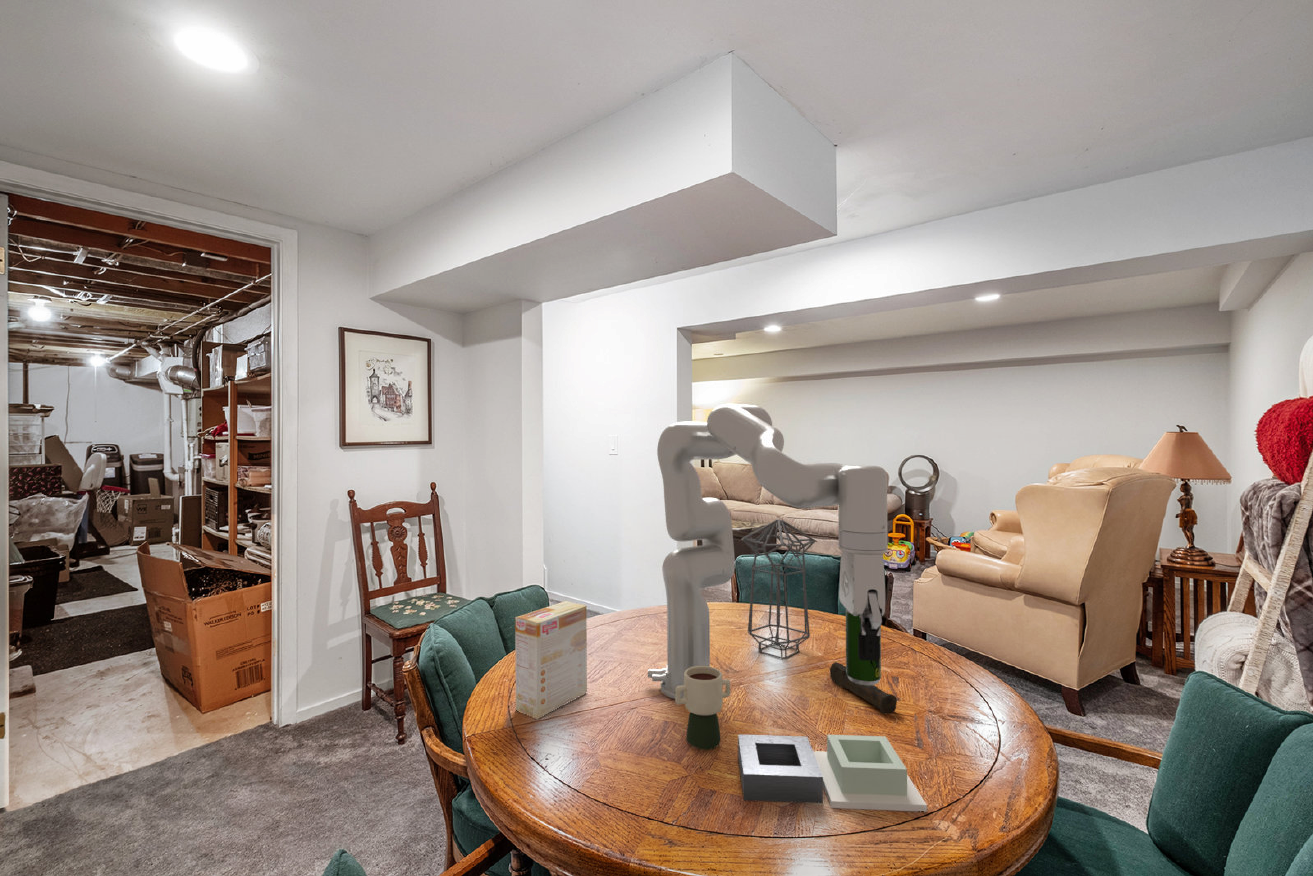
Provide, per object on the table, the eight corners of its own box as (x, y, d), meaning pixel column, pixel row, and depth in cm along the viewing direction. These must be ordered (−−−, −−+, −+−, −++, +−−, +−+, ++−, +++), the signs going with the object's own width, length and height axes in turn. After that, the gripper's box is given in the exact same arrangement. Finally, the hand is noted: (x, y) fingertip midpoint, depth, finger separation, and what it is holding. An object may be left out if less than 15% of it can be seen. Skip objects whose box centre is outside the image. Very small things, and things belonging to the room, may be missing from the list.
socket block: (743, 800, 87) (743, 774, 87) (738, 757, 99) (737, 734, 99) (823, 803, 86) (822, 777, 86) (807, 759, 98) (807, 736, 98)
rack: (831, 808, 85) (831, 774, 85) (812, 756, 99) (812, 728, 99) (927, 812, 84) (926, 778, 84) (894, 759, 98) (893, 730, 98)
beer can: (846, 683, 90) (845, 608, 90) (845, 670, 95) (845, 599, 95) (882, 688, 88) (882, 611, 88) (879, 674, 93) (879, 602, 94)
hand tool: (898, 714, 115) (898, 691, 115) (882, 716, 114) (882, 693, 114) (840, 678, 133) (840, 658, 133) (826, 680, 132) (826, 660, 132)
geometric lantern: (737, 650, 150) (737, 519, 152) (772, 638, 161) (772, 515, 162) (787, 667, 139) (786, 524, 140) (821, 652, 149) (820, 520, 151)
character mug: (722, 730, 108) (722, 662, 108) (739, 749, 101) (738, 676, 102) (668, 739, 105) (668, 669, 105) (682, 759, 98) (682, 684, 98)
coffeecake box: (565, 686, 129) (565, 600, 129) (588, 693, 124) (588, 605, 125) (513, 711, 116) (513, 616, 117) (537, 720, 112) (537, 622, 112)
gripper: (827, 532, 101) (827, 634, 101) (853, 550, 84) (854, 673, 83) (870, 533, 100) (870, 635, 100) (905, 551, 83) (906, 674, 83)
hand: (863, 651), depth 92 cm, fingers closed on beer can, 5 cm apart
